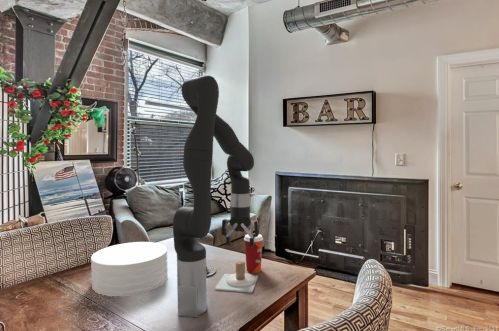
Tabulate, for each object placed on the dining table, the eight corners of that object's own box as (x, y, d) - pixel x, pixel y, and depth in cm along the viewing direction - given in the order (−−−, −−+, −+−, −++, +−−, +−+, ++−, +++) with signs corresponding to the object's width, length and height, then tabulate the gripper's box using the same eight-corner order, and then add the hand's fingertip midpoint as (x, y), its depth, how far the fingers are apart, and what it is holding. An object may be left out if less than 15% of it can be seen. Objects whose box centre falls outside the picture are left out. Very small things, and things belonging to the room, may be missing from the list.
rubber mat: (252, 292, 115) (252, 291, 115) (214, 289, 117) (214, 288, 117) (258, 277, 129) (258, 275, 129) (224, 275, 131) (224, 273, 131)
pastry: (184, 270, 138) (184, 259, 137) (212, 266, 142) (212, 256, 142) (189, 281, 126) (189, 269, 126) (219, 276, 131) (219, 265, 130)
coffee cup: (263, 274, 132) (263, 238, 131) (243, 274, 132) (243, 238, 131) (263, 266, 140) (263, 232, 139) (244, 266, 140) (244, 232, 139)
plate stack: (75, 287, 121) (74, 257, 120) (133, 263, 146) (133, 238, 145) (127, 303, 108) (126, 270, 107) (182, 274, 132) (181, 247, 132)
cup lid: (252, 288, 117) (251, 269, 117) (223, 285, 119) (222, 267, 119) (256, 276, 128) (256, 259, 128) (230, 274, 130) (229, 257, 130)
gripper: (219, 205, 120) (219, 248, 120) (257, 207, 117) (256, 250, 118) (224, 202, 127) (224, 243, 128) (260, 203, 125) (259, 245, 125)
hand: (240, 246), depth 123 cm, fingers open, 8 cm apart
